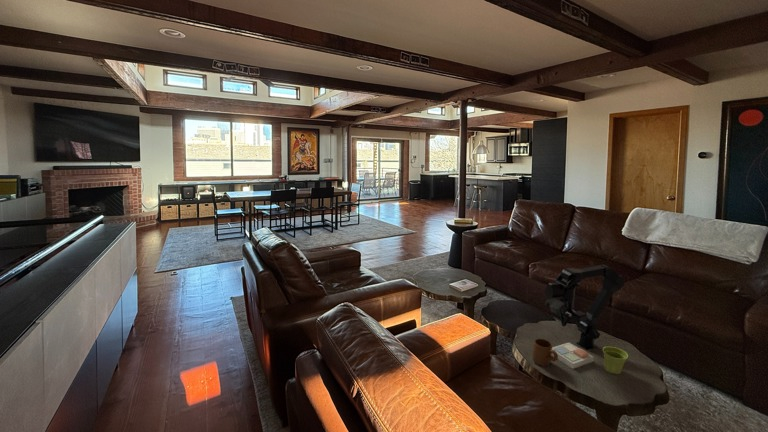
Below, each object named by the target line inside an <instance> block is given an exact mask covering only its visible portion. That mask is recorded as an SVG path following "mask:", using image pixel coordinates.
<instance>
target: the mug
mask: <svg viewBox="0 0 768 432" xmlns="http://www.w3.org/2000/svg"><path fill="white" fill-rule="evenodd" d="M552 347H553V344H552V342H551V341H549V340H547V339H544V338H537V339H535V340H534V342H533V349H532V361H533V362H534V363H535V364H536V365H537V366H541V367H548V366H549V365H550V364H551V361H552V362H556V361H557V360H558V354H557V353H556V351H554V350H552ZM551 354H554V356H552V355H551Z"/></svg>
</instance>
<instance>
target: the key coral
mask: <svg viewBox="0 0 768 432" xmlns="http://www.w3.org/2000/svg"><path fill="white" fill-rule="evenodd" d="M578 348H579V347H578ZM573 354H575V355H577V356H578V357H580V358H581V359H583V358H586V357H588V356H589V354H590V353H589V352H588V351H586V350H584V348H581V347H580V348H579V349H576V350H574V352H573Z"/></svg>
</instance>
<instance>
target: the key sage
mask: <svg viewBox="0 0 768 432" xmlns="http://www.w3.org/2000/svg"><path fill="white" fill-rule="evenodd" d="M565 357H566V358H568V359H569V360H571V361H572V362H574V361H577V360H580V358H578V357H576V356H575V355H573V354H572V353H571V354H568V355H565Z"/></svg>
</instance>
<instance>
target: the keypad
mask: <svg viewBox="0 0 768 432" xmlns="http://www.w3.org/2000/svg"><path fill="white" fill-rule="evenodd" d="M569 344H570V345H572V346H573V347H575V348H577V349H579V347H577V346H576V345H574V344H572V343H571V342H565V343H563V344H559V345H556V346H552V350H554V349H556V348H559V347H562V348H563V349H565V348H564V347H563V346H566V345H569ZM565 350H567V349H565ZM554 351H555V350H554ZM567 351H568V350H567ZM568 352H569V353H567V354H564V355H561V354H560V353H558V352H557V351H556V353H557V354H558V359H557V360H558V361H560V362H561V363H562V364H564V365H565V366H567V367H568V368H570V369H572V370H574V369H577V368H579V367H583V366H585V365H589V364H590V363H593V362H594V356H593V355H591V354H590V353H589V356H588V357H586V358H583V359H581V358H580V357H578V356H577V355H575V354H573V352H574V351H573V352H570V351H568ZM571 353H572V354H573V355H575V356H576V357H578V358H580V360H577V361H574V362H572V361H571V360H569V359H568V358H566V357H565V355H568V354H571ZM551 356H552V357H554V354H551Z"/></svg>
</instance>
